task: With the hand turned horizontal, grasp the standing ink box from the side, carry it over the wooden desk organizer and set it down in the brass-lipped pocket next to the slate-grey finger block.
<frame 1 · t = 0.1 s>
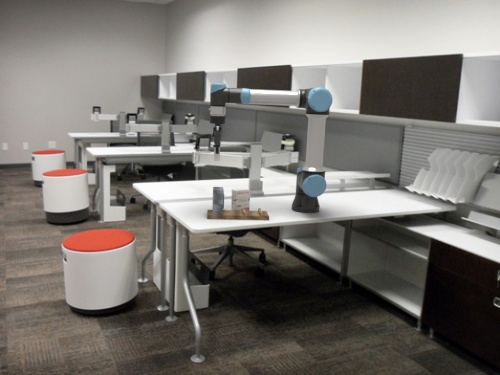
hand: (216, 158, 235), 28 cm above the table, tool pointing down, fingers open, 13 cm apart
ink box: (240, 212, 247), on the table
wooden desk organizer: (237, 216, 236), on the table
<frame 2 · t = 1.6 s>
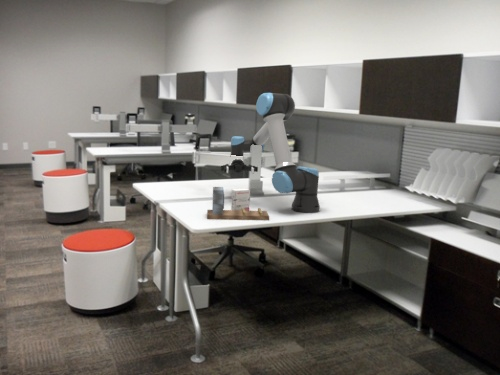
hand: (240, 170, 252), 20 cm above the table, tool horizontal, fingers open, 13 cm apart
nothing on the table moved.
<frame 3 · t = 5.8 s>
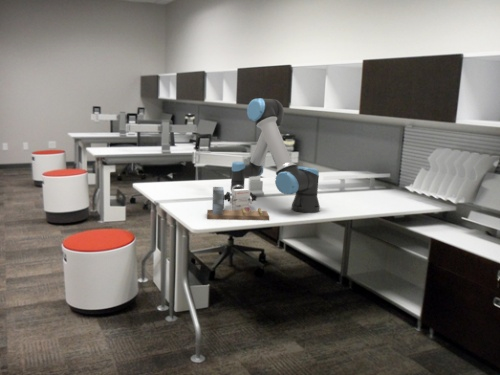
hand: (241, 201, 241), 7 cm above the table, tool horizontal, fingers closed on ink box, 9 cm apart
ink box: (240, 212, 247), on the table, touching gripper
when the fingers open (11 cm above the table, at t = 10.9 s): ink box stays where it is, resting on wooden desk organizer.
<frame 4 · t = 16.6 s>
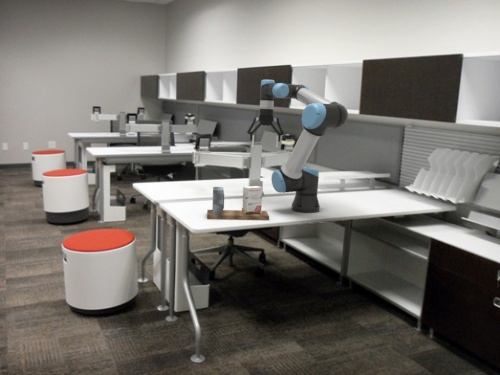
hand: (264, 147, 265), 32 cm above the table, tool pointing down, fingers open, 13 cm apart
ink box: (251, 210, 236), point 3 cm above the table, touching wooden desk organizer
at the end: ink box 0.1 cm from the target spot, point 3.3 cm above the table; ink box tilted 0°; the gripper is holding nothing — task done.
